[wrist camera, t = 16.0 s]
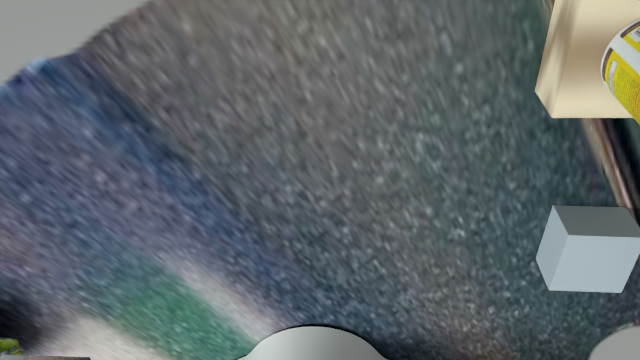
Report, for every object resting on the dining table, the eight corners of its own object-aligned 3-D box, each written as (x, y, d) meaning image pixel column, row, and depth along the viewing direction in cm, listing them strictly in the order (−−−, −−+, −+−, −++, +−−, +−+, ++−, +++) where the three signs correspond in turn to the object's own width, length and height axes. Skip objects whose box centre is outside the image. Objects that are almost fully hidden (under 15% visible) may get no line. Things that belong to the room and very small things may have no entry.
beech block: (661, 91, 40) (690, 117, 37) (534, 91, 40) (551, 117, 37) (710, -41, 35) (748, -23, 32) (564, -39, 35) (586, -22, 32)
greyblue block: (602, 259, 50) (621, 292, 47) (535, 257, 50) (548, 290, 47) (625, 206, 46) (646, 237, 43) (552, 203, 46) (568, 235, 43)
